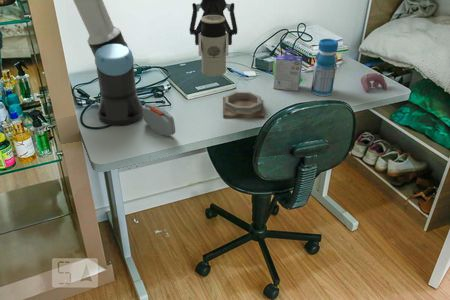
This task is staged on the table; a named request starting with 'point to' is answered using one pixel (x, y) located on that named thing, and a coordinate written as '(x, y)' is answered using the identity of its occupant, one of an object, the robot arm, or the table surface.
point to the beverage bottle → (325, 68)
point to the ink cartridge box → (287, 71)
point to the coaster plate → (242, 105)
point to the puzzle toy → (274, 67)
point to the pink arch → (377, 80)
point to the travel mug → (213, 45)
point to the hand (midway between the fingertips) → (213, 54)
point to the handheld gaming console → (158, 120)
